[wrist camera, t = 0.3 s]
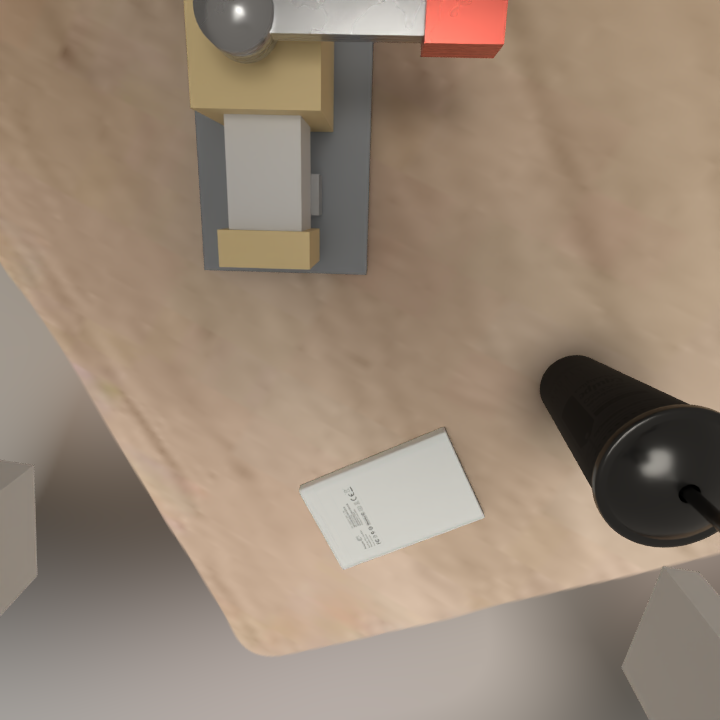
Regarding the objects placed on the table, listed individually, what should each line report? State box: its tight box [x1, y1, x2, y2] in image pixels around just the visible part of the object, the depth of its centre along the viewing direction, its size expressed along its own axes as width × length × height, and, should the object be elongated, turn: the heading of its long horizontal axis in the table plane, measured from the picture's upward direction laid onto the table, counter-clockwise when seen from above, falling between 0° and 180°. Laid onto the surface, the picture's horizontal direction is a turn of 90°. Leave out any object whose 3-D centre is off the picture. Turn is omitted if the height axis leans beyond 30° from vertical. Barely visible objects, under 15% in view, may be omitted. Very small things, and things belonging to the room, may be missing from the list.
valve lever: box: [193, 0, 508, 64], centre depth 22 cm, size 13×3×3 cm, turn 89°
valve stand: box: [184, 0, 373, 275], centre depth 28 cm, size 24×11×9 cm, turn 179°
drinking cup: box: [540, 355, 720, 547], centre depth 28 cm, size 8×8×20 cm
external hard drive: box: [299, 427, 485, 570], centre depth 41 cm, size 2×8×12 cm
